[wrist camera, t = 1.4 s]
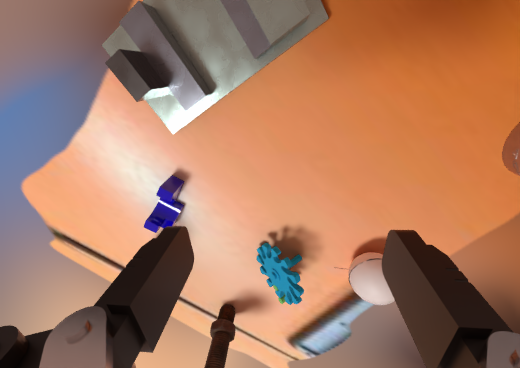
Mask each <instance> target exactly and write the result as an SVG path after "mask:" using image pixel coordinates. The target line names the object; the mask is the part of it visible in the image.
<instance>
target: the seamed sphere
mask: <svg viewBox="0 0 520 368" xmlns="http://www.w3.org/2000/svg"><path fill="white" fill-rule="evenodd" d="M382 257H383V254H380V253H376V252H368V253H363V254H361V255H359V256H357V257H356V258H355V259H354V260H353V261H352V263H351V265H350V268H349V269H348V270H349V282H350V284H351V286H352V287H353V289H354V291H355V292H356V293H357V294H358V295H359V296H360V297H361V298H362V299H363V300H365V301H367V302H370V303H372V304H376V305H385V304H389V303H392V302H393V301H395V299H394V297H393V295H392V293H391V291H390V289H389V287H388V284H387V282H386V280H385V278H384V275H383V272H382ZM334 268H336V267H334ZM340 269H344V268H340Z"/></svg>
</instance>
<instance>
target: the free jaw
mask: <svg viewBox="0 0 520 368" xmlns="http://www.w3.org/2000/svg"><path fill="white" fill-rule="evenodd" d="M119 23H120V24H121V26H122V27H123V28H124V30H125V31H126V32H127V34H128V35H129V36H130V38H131V39H132V40H133V42H134V43H135V44H136V46H137V47H138V48H139V50H140V51H141V52H140V51H132V50H123V49H118V50H117V51H116V52H115V54H114V55H113V56H112V57H111V58H110V59H109V60H108V61H107V62H106V65H107V66H108V67H109V68H110V70H111V71H112V72H113V73H114V74H115V76H116V77H117V78H118V79H119V81H120V82H121V83H122V84H123V85H124V87H125V88H126V89H127V90H128V92H129V93H130V94H131V95H132V96H133V98H134V99H135V100H136V101H137V102H138V101H143V100H147V99H151V98H156V97H160V96H165V95H167V94H168V93H169V92H170V91H171V92H172V94H173V95H174V96H175V98H176V99H177V100H178V102H179V103H180V104H181V106H182V107H183V108H184V110H185V111H187V110H190V109H192V108H194V107H195V106H197V105H198V104H199V103H201V102H202V101H203V100H205V99H206V98H207V97H209V96H210V95H211V94H212V92H211V91H210V89H209V88H208V87H207V85H206V84H205V82H204V81H203V79H202V78H201V76H200V75H199V73H198V72H197V71H196V69H195V68H194V66H193V65H192V63H191V62H190V60H189V59H188V57H187V56H186V55H185V53H184V52H183V50H182V49H181V47H180V46H179V44H178V43H177V41H176V40H175V38H174V37H173V36H172V34H171V33H170V31H169V30H168V28H167V27H166V25H165V24H164V22H163V21H162V20H161V18H160V17H159V15H158V14H157V12H156V11H155V9H154V8H153V7H152V6H150V5H148V4H146V3H143V2H141V1H138V2H137V3H136V4H135V5H134V7H133V8H132V9H131V10H130V11H129V12H128V13H127V14H126V15H125V16H124V17H123V19H122V20H121V21H120V22H119Z"/></svg>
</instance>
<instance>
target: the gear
mask: <svg viewBox="0 0 520 368" xmlns="http://www.w3.org/2000/svg"><path fill="white" fill-rule="evenodd" d="M270 250H271V252H270ZM257 251H258V253H259V255H258V256H257V261H258V262H259V263H261V264H262V265H263V266H261V267H260V270H261V273H262V274H265V275H267V276H268V277H269V279H267V280H266V281H267V283H268V285H269V286H270V287H272V286H273V287H274V289H275V290H276V291H275V293H276V294H277V295H278V297H279V298H278V299H279V301H280V303H281V304H283V303H284V302H285V301H286V302H287V303H288V304H290V305H291V304H292V303H294V304H298V303H300V302H301V301H302V299H301V297H300V296H301V295H302V294H303V293H304V290H303V288H302V287H301V286H299V285H298V284H297V283H298V282H299V281H300V276H299V274H298V273H297V272H292V271H290V268H291V267H293V266H294V265H295V264H297V263H298V262H299V261H301V260H302V257H301V256H300V255H299V254H298V255H297V256H295V257H294V258H292V259H291V260H290V259H289V258H288V257H286V258H284V259H283V260H280V259H279V258H278V255H279V254H281V251H280V250H279V248H278V247H276V246H275V247H273V248H272V249H271V245H270V244H268V243H264V244H263V245H262V246H261V247H259V248H258V249H257ZM271 253H272V254H271Z"/></svg>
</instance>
